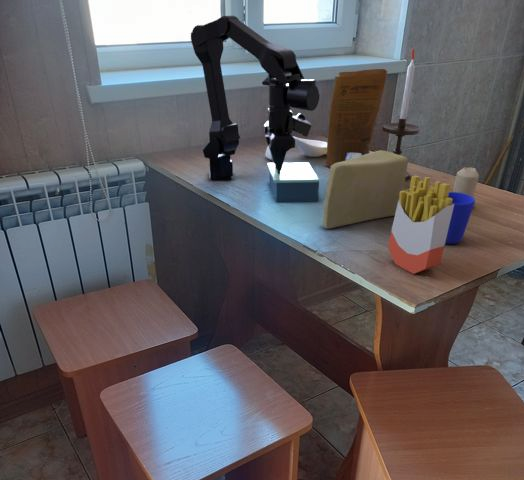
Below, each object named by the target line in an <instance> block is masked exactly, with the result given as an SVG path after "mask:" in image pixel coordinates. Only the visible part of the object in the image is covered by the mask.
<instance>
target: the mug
mask: <svg viewBox="0 0 524 480" xmlns="http://www.w3.org/2000/svg"><path fill="white" fill-rule="evenodd" d="M448 198H452V199H453V200H452V203H453V204H454V208H453V212H452V216H451V220H450V224H449V229H448V233H447V237H446V241H445V245H455V244H458V243H459V242H461V241H462V239H463V238H464V235H465V232H466V229H467V227H468V223H469V221H470V218H471V214H472V211H473V209H474V206H475V203H476V199H475V198H474V197H471V196H469V195H466V194H463V193H457V192H453V191H449V195H448Z"/></svg>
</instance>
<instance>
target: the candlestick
mask: <svg viewBox="0 0 524 480" xmlns="http://www.w3.org/2000/svg"><path fill="white" fill-rule="evenodd" d="M410 55H411V61H410V63H409V65H407V72H406V77H405V82H404V83H405V84H404V90H403V96H402V103H401V109H400V115H398V116H396V119H398V122H391V123H390V122H389V123H385V124H383V125H382V131H383V132H385V133H386V134H391V135H395V136H396V137H397V140H396V146H395V148H394V149H393V150H392V153H394V154H398V155H401V156H402V154H403V150H402V149H401V147H402V142H403V137H406V136H414V135H418V134H420V133H421V127H420V126H418V125H415V124H411V123H407V120H410V119H411V117H410V116H408V111H409V106H410V105H409V104H410V99H411V93H412V87H413V81H414V75H415V71H416V70H415V69H416V65H415V63H414V59H415V49H414V46H412V48H411V54H410ZM409 175H410V173H408V172H407V171H406V177H405V181H406V180H408V179H409Z"/></svg>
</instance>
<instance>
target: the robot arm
mask: <svg viewBox="0 0 524 480" xmlns="http://www.w3.org/2000/svg"><path fill="white" fill-rule="evenodd" d="M229 39H230V40H232V41H233V42H235V43H236V44H237V45H238V46H240V47H242V49H244V50H245V51H247V52H248V53H249V54H250V55H252V56H253V57H255V59H257V60H258V62H259V64H260V67H261V68H262V69H263V70H264V72H265V73H266V74H268V75H267V76H266V78H264V80H263V81H262V82H261V84H262V85H263V86H268V107H267V115H268V117H267V119H268V120H267V121H266V122H265V123H264V124H263V133H264V137H265V140H266V143H267V147H268V146H269V149H270V152H271V155H272V158H273V159H272V161H273V163H274V164H275V165H276V168H277V170H278V171H281V169H282V166H283V163H285V159H286V155H287V153H288V151H289V150H291V149H295V148H296V145H295V139H294V137H295V136H294V137H293V132H294V133H297V134H299V135H302V136H303V137H305V138H307V137H308V136H309V133H310V132H311V128H312V126H313V124H311V122H310V121H309V120H306V116H305V114H303V113H301V112H298V113H297V114H296V115H294V113H293V111H292V110H291V109H297V110H304V111H309V112H313V111H315V110H316V108H317V107H318V104H319V102H320V92H319V88H318V86H317V85H316V84H317V83H316V82H317V81H316V80H315V79H305V77H304V75H303V72H302V71H301V69H300V66H299V64H298V62H297V55H296V54H295V52H294V51H293V50H291V49H289V48H287V47H285V46H283V45H279V44H276V43H272V42H270V41H269V40H267V39H266V38H264V37H263V36H261V35H260V34H259V33H257V32H256V31H255V30H253V29H252V28H251V27H249V26H248V25H247V24H245V23H244V22H242V21H241V20H239V18H238V17H237V16H235V15H222V16H221V17H219V18H217V19H215V20H213V21H211V22H207V23H205V24H198V25H195V26H194V27H193V28H192V31H191V32H190V42H191V45H192V48H193V52H194V54H195V56H196V57H197V59H198V60H199V62H200V63H201V65H202V70H203V76H204V82H205V89H206V93H207V98H208V99H207V101H208V104H209V110H210V117H211V124H210V126H209V127H210V128H209V131H208V137H209V141H208V143H207V144H206V145H205V147H204V148H203V149H202V153H203V157H204V158H206V159H209V180H210V181H219V180H220V181H222V180H223V181H225V180H227V181H231V180H232V177H233V175H234V168H233V167H234V166H233V165H234V163H233V160H232V159H231V158H232V157H231V156H234V155H235V154H236V151H237V148H238V146H239V144H240V140H241V135H240V133H239V125H238V123H233V121H232V120H231V119H230V115H229V108H228V102H227V96H226V90H225V84H224V77H223V70H222V64H221V60H222V56H223V53H224V42H225V41H227V40H229Z"/></svg>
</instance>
